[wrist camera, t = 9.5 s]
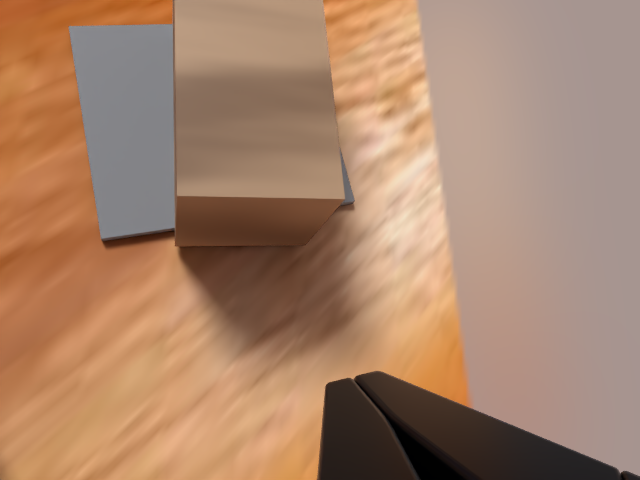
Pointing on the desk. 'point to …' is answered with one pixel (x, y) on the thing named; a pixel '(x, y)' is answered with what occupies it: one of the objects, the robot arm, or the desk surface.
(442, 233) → the desk surface
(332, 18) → the desk surface
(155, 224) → the mat
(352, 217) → the desk surface
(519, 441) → the robot arm
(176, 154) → the tan wooden block
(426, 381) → the desk surface
